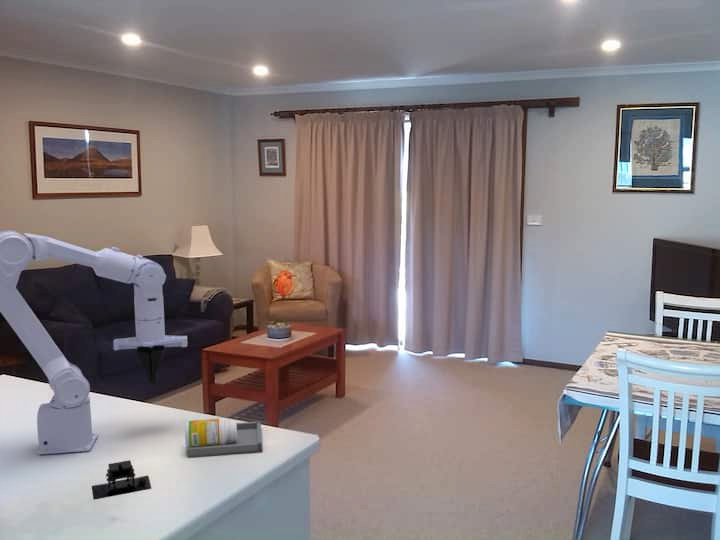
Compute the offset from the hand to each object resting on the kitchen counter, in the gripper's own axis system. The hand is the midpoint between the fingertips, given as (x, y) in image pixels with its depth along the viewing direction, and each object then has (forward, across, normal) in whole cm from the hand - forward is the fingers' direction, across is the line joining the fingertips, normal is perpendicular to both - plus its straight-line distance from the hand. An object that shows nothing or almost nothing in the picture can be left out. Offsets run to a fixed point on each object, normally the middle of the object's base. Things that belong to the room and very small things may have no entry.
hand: (153, 381), depth 138 cm
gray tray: (+10, +15, -10) cm, 21 cm away
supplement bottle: (+7, +7, -13) cm, 16 cm away
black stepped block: (+11, -2, -26) cm, 29 cm away
